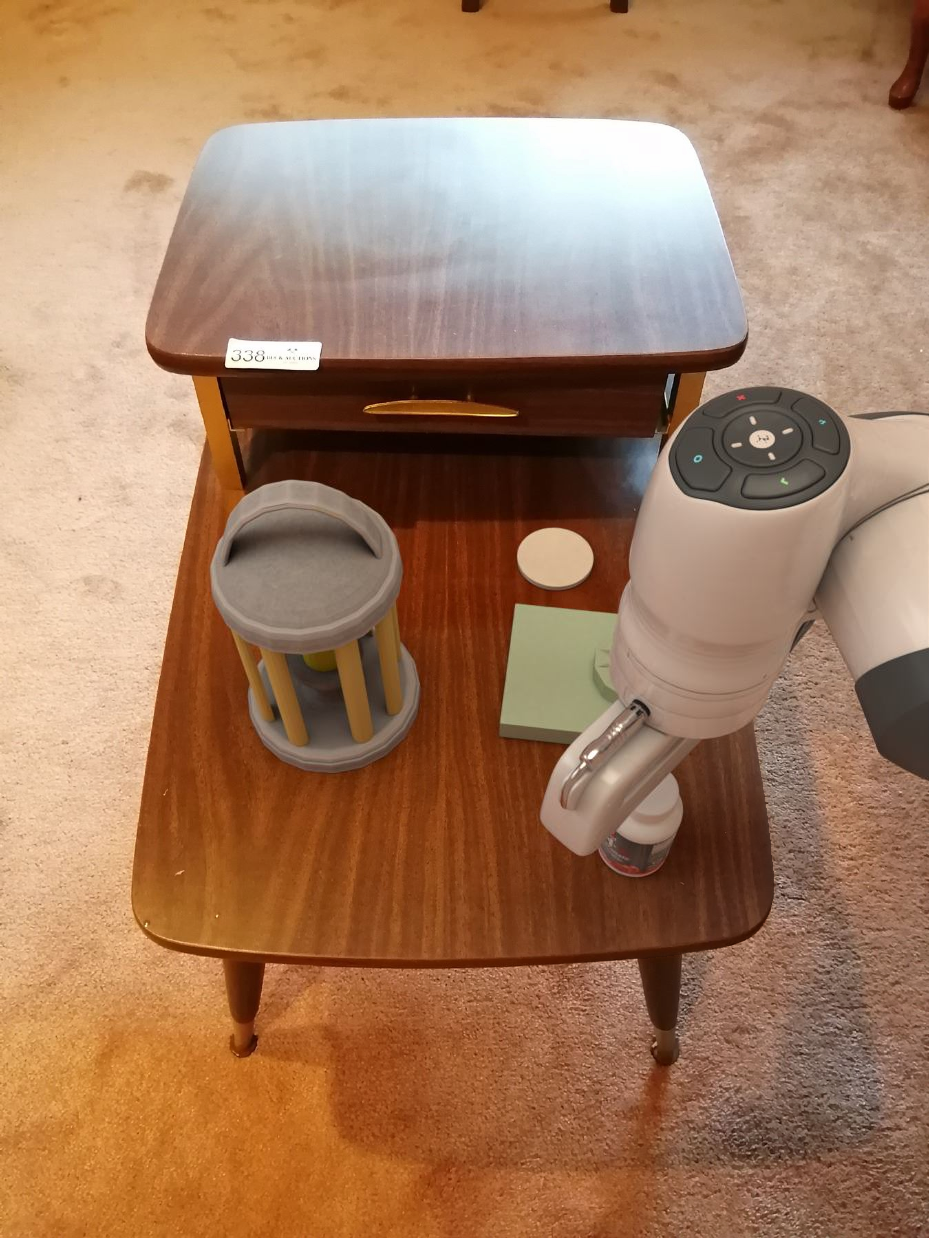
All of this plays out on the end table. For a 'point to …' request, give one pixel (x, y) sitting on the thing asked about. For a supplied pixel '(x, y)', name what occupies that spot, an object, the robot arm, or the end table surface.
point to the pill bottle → (646, 833)
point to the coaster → (555, 559)
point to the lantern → (317, 624)
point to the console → (556, 673)
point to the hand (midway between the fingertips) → (655, 771)
